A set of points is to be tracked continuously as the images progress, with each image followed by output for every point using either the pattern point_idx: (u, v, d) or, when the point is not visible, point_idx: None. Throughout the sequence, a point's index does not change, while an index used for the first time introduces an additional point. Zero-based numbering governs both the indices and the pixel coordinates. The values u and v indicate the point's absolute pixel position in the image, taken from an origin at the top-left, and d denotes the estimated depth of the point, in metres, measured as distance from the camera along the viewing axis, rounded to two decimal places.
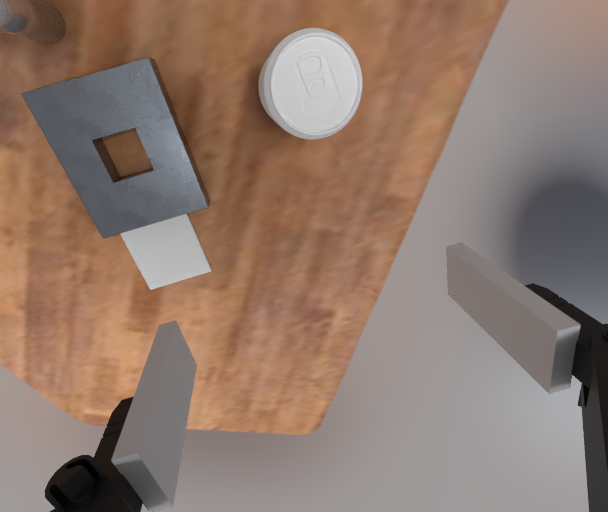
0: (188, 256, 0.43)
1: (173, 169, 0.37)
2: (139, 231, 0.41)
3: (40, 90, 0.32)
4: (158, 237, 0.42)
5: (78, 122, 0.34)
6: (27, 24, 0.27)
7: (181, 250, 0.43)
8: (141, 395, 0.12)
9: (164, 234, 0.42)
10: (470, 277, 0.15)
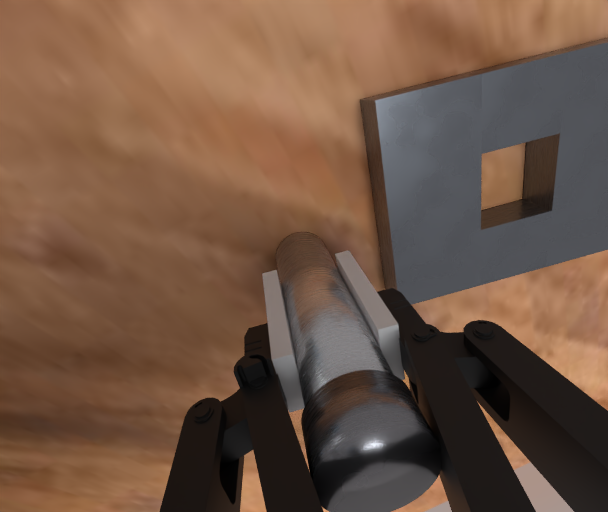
0: None
1: (572, 92, 0.18)
2: None
3: (399, 283, 0.21)
4: None
5: (451, 243, 0.20)
6: (343, 286, 0.16)
7: None
8: (274, 319, 0.14)
9: None
10: (346, 282, 0.17)
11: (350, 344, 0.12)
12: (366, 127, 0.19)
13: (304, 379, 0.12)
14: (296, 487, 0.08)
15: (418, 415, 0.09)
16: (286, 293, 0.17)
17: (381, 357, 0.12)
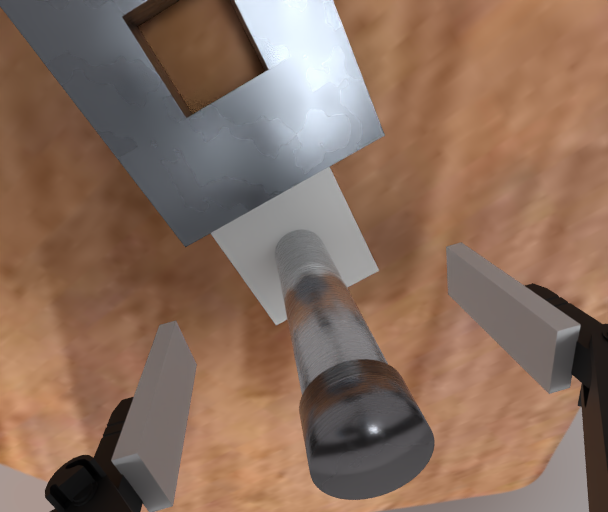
0: (337, 251, 0.23)
1: (309, 58, 0.16)
2: (244, 220, 0.21)
3: None
4: (280, 225, 0.21)
5: None
6: (346, 287, 0.17)
7: None
8: (141, 395, 0.12)
9: (291, 217, 0.21)
10: (471, 277, 0.15)
11: (357, 336, 0.12)
12: None
13: (308, 361, 0.12)
14: None
15: None
16: (288, 282, 0.17)
17: (382, 354, 0.12)
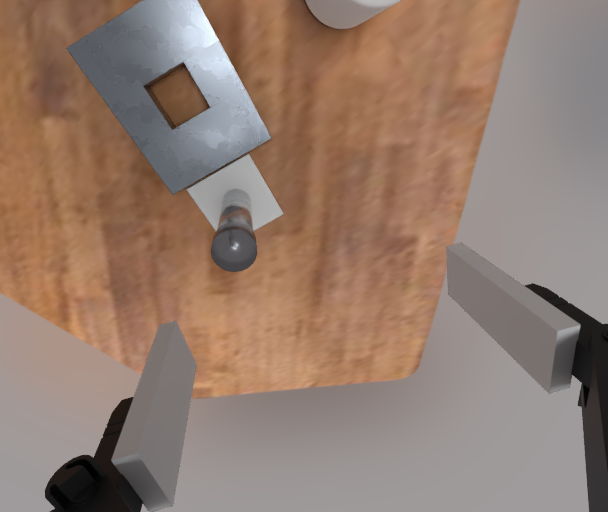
0: (257, 201, 0.41)
1: (229, 102, 0.34)
2: (204, 182, 0.39)
3: (83, 40, 0.31)
4: (224, 186, 0.40)
5: (126, 68, 0.32)
6: (248, 210, 0.35)
7: None
8: (141, 395, 0.12)
9: (230, 181, 0.40)
10: (471, 277, 0.15)
11: (239, 219, 0.31)
12: None
13: (218, 228, 0.30)
14: None
15: (251, 236, 0.28)
16: (222, 209, 0.35)
17: (249, 227, 0.31)
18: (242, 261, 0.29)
